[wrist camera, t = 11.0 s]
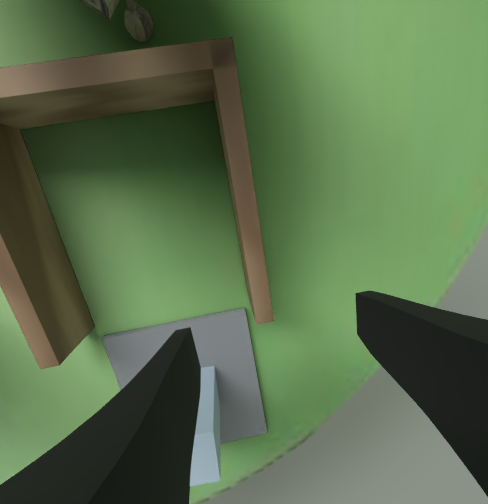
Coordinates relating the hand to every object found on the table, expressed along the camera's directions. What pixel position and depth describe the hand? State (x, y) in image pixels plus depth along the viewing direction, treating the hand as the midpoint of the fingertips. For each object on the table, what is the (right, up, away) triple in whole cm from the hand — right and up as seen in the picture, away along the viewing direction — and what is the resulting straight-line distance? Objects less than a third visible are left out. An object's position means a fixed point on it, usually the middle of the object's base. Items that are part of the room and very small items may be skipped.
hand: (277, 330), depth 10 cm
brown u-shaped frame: (-9, +6, +8) cm, 13 cm away
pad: (-6, -9, +12) cm, 16 cm away
